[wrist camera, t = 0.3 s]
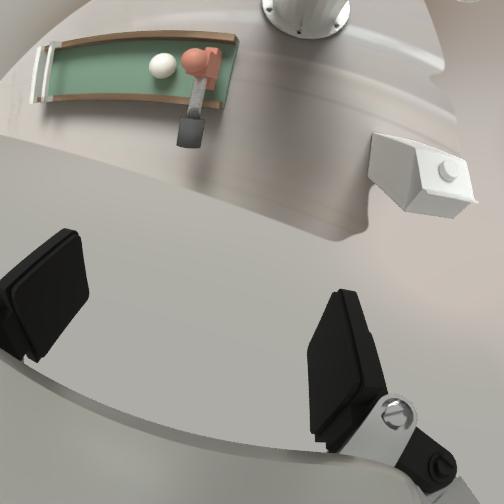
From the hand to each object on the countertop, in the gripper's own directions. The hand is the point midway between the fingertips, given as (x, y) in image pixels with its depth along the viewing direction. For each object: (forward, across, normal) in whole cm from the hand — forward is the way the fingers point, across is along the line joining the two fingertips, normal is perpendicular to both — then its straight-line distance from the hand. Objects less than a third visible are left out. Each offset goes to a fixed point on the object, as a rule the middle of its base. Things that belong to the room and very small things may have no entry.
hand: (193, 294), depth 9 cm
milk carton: (+34, -20, -4) cm, 40 cm away
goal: (+33, +39, -12) cm, 53 cm away
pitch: (+34, +24, -11) cm, 43 cm away
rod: (+33, +8, -7) cm, 35 cm away
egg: (+31, +16, -11) cm, 37 cm away
